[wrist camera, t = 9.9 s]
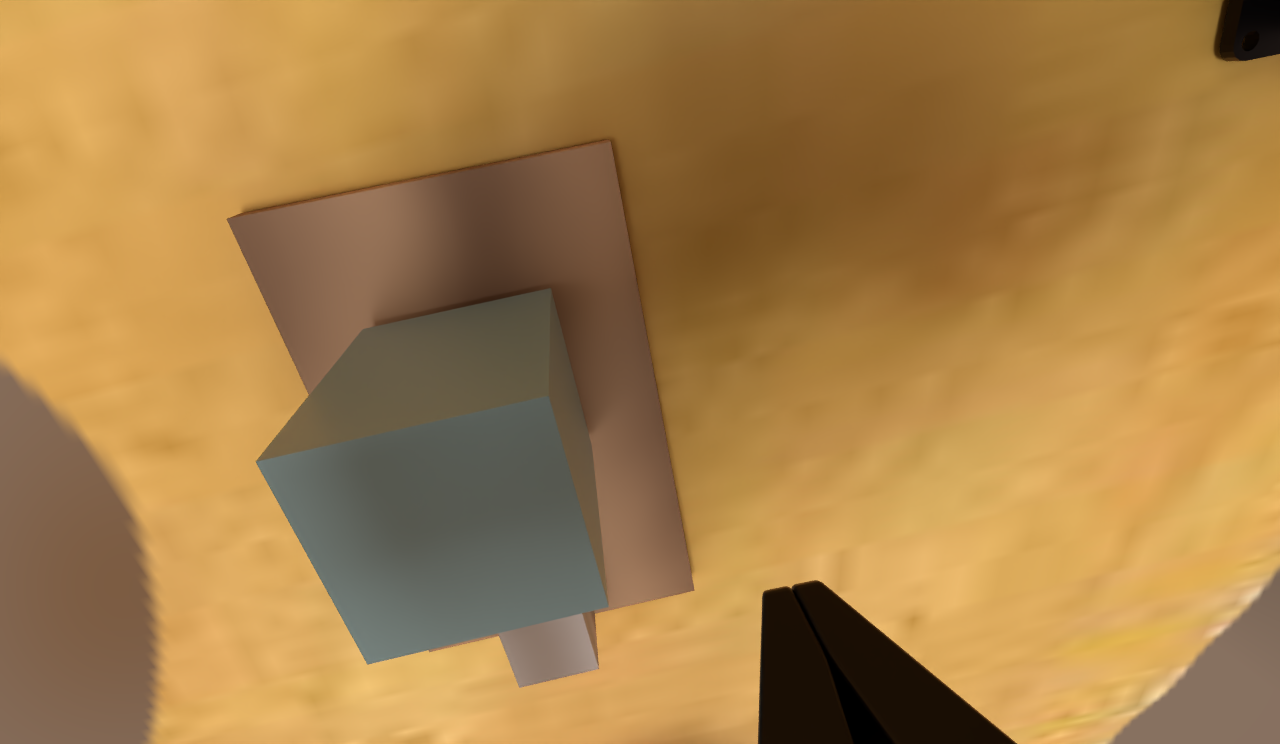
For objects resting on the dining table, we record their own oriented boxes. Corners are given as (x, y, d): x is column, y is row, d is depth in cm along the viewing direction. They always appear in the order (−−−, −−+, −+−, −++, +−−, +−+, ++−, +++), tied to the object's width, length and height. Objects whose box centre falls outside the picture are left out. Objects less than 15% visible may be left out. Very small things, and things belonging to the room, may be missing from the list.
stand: (608, 139, 17) (644, 171, 10) (690, 574, 24) (743, 766, 17) (241, 213, 16) (24, 297, 10) (433, 634, 23) (384, 853, 17)
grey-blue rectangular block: (550, 288, 17) (548, 395, 11) (591, 445, 19) (609, 606, 13) (362, 329, 17) (256, 461, 11) (426, 483, 19) (367, 664, 13)
